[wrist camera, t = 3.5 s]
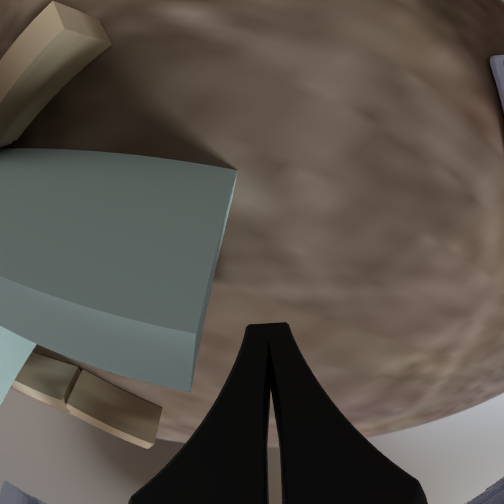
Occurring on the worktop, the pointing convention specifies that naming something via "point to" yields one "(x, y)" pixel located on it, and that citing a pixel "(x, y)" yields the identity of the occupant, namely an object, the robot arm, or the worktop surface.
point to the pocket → (10, 129)
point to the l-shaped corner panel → (108, 260)
